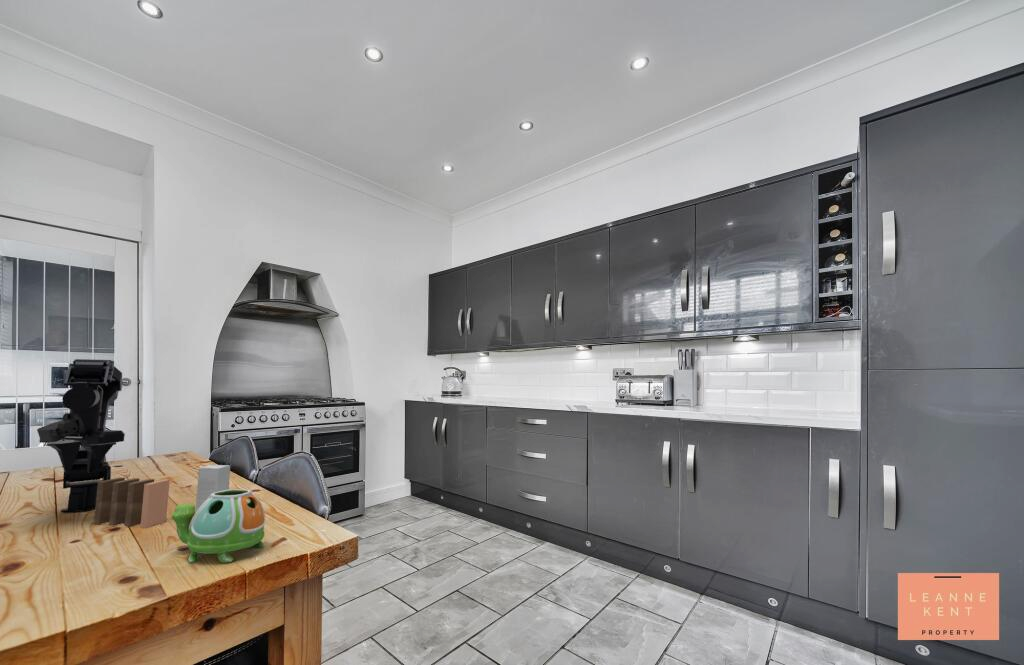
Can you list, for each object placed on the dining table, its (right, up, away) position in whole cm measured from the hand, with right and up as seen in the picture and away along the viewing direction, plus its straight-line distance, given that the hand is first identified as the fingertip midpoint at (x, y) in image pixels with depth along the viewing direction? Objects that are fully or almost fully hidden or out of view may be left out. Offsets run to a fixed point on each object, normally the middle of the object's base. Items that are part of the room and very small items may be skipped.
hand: (78, 471), depth 109 cm
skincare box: (+29, -13, +6) cm, 32 cm away
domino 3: (+17, -12, -3) cm, 21 cm away
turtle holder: (+49, -10, -21) cm, 54 cm away
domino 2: (+13, -12, -2) cm, 17 cm away
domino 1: (+8, -12, -1) cm, 15 cm away
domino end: (+22, -12, -3) cm, 25 cm away
